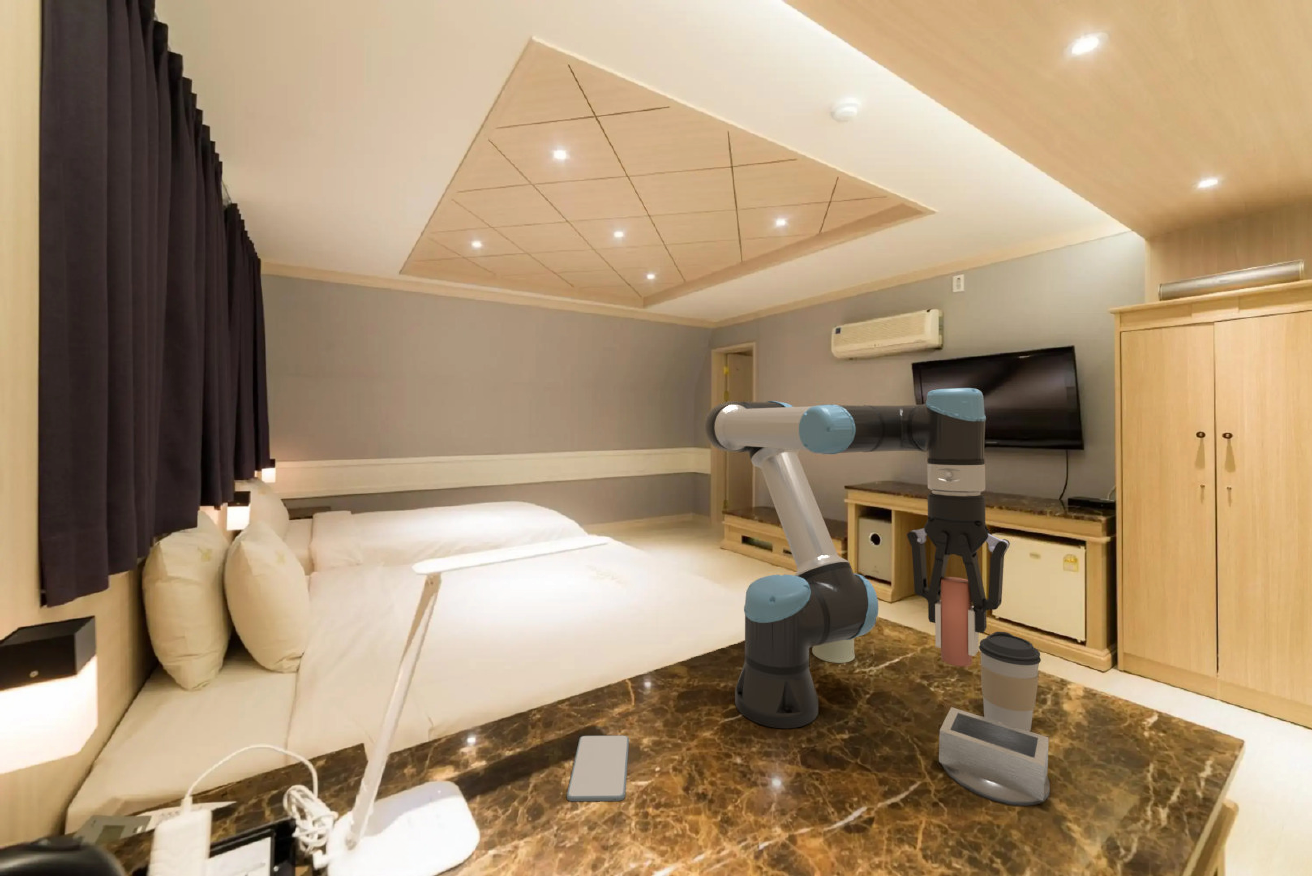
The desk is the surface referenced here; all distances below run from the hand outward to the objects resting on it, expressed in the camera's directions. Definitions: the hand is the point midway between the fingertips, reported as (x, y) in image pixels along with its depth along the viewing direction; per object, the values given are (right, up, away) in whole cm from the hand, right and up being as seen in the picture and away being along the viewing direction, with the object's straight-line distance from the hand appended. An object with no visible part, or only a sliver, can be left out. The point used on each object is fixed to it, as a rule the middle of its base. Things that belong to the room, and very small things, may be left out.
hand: (956, 648), depth 80 cm
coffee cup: (+17, -19, +14) cm, 29 cm away
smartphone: (-54, -20, +3) cm, 57 cm away
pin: (0, -2, 0) cm, 2 cm away
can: (-5, -18, +41) cm, 45 cm away
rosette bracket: (+6, -19, +1) cm, 20 cm away
